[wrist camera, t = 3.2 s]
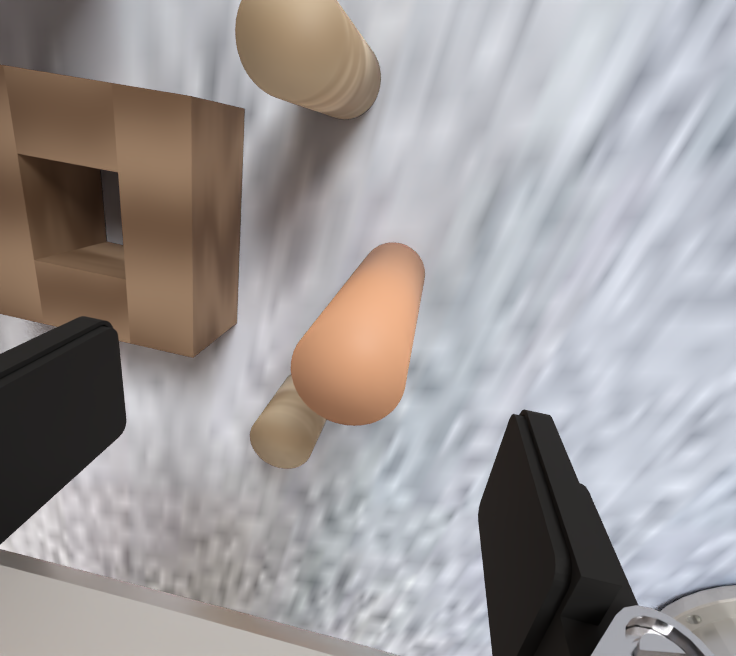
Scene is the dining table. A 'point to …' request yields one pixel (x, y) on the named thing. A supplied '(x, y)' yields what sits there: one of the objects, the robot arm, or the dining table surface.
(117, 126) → the hole block
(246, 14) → the medium pin
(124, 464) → the dining table surface
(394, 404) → the long pin
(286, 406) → the short pin
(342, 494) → the dining table surface
